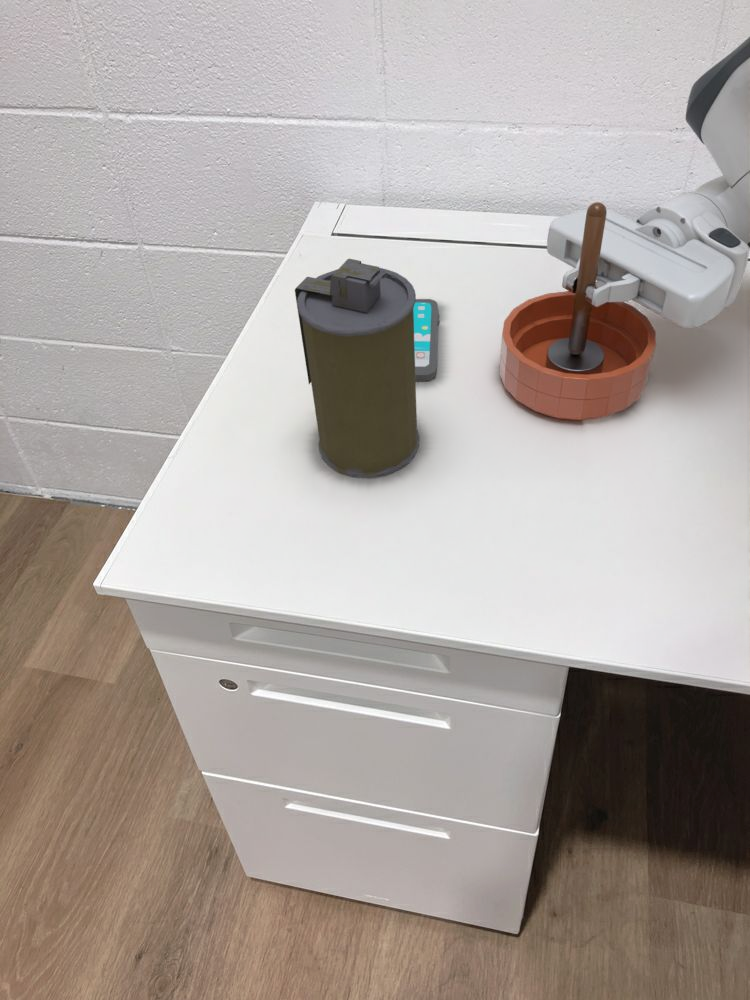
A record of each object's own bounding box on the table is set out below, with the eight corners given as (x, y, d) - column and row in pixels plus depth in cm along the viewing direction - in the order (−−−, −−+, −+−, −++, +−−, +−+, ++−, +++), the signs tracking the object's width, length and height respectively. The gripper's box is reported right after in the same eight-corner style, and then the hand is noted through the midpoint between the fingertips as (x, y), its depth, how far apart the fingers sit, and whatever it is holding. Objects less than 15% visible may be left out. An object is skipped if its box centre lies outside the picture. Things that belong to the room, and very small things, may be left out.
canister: (435, 424, 84) (434, 250, 70) (393, 490, 78) (382, 314, 63) (343, 399, 88) (324, 230, 73) (296, 460, 81) (265, 288, 67)
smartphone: (360, 373, 89) (370, 298, 99) (361, 380, 90) (370, 305, 100) (438, 373, 88) (439, 297, 98) (438, 380, 89) (439, 304, 99)
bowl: (662, 357, 90) (674, 311, 85) (618, 442, 81) (628, 396, 76) (531, 323, 95) (536, 279, 91) (476, 399, 86) (478, 353, 82)
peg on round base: (609, 360, 88) (640, 195, 74) (590, 391, 84) (619, 224, 71) (557, 346, 90) (578, 183, 76) (536, 376, 86) (554, 211, 73)
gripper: (605, 181, 88) (510, 222, 83) (764, 253, 76) (665, 306, 71) (596, 235, 93) (506, 276, 88) (746, 310, 81) (651, 364, 76)
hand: (579, 290), depth 79 cm, fingers closed on peg on round base
